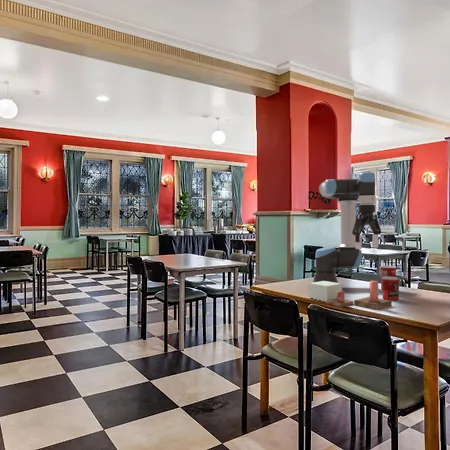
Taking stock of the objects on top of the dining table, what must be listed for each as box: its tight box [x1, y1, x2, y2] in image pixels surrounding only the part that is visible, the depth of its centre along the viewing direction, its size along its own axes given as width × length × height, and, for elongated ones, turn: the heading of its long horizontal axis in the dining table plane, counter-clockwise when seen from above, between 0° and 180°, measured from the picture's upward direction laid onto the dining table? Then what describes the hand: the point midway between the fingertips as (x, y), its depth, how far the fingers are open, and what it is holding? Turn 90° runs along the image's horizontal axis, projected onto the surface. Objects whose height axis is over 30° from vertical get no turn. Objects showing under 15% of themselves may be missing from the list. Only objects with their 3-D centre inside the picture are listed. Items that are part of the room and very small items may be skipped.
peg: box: [369, 280, 379, 303], centre depth 185 cm, size 4×4×12 cm
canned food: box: [382, 276, 400, 302], centre depth 202 cm, size 8×8×11 cm
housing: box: [308, 281, 343, 303], centre depth 204 cm, size 12×12×8 cm
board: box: [325, 290, 354, 308], centre depth 192 cm, size 9×9×6 cm
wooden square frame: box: [353, 296, 393, 311], centre depth 188 cm, size 12×12×2 cm
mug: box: [379, 265, 397, 291], centre depth 224 cm, size 13×9×14 cm
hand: (367, 248), depth 193 cm, fingers open, 13 cm apart
